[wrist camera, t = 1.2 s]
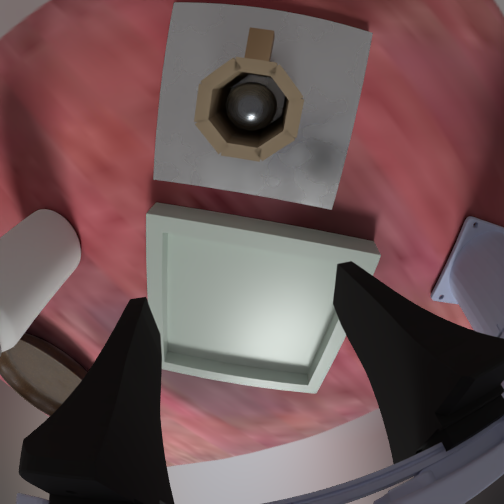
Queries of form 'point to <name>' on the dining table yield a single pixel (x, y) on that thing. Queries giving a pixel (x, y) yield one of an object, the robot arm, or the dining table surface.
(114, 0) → the dining table surface
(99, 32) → the dining table surface
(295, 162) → the square base plate
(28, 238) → the can
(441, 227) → the dining table surface
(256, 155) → the sleeve
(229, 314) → the tray
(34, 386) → the plant saucer
